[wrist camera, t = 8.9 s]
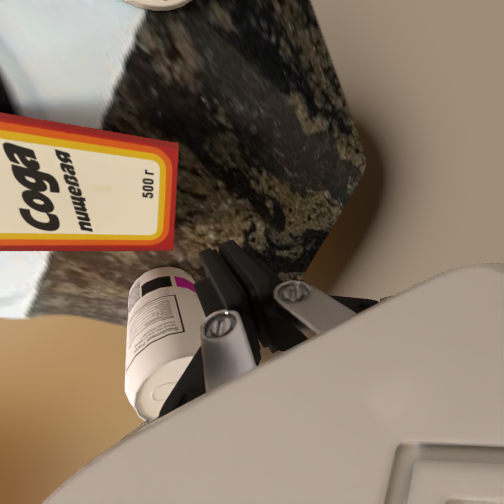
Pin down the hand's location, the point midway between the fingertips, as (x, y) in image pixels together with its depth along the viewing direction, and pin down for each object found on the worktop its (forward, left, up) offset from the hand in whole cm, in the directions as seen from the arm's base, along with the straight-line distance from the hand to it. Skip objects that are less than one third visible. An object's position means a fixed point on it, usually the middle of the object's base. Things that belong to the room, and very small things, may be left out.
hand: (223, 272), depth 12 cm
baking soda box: (-1, 0, -16) cm, 16 cm away
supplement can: (+11, -5, -20) cm, 23 cm away
